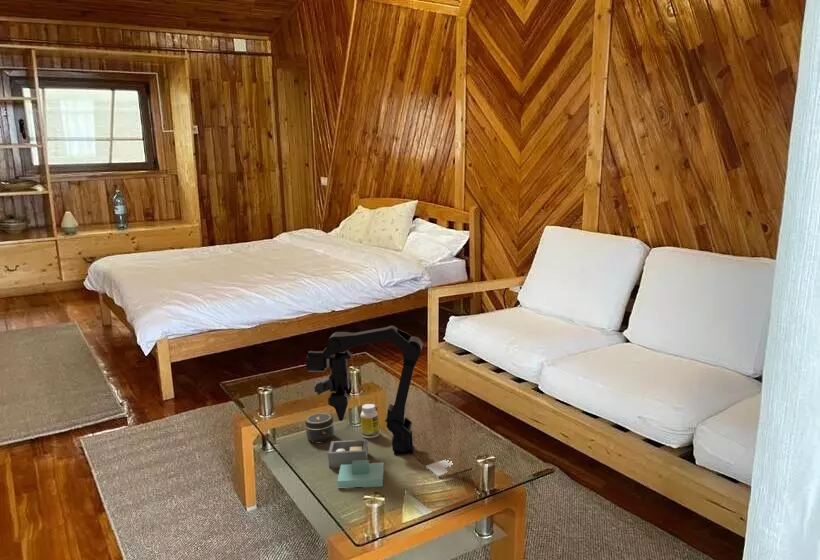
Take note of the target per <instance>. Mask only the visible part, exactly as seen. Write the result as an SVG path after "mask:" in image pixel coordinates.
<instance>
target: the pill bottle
mask: <svg viewBox="0 0 820 560" xmlns="http://www.w3.org/2000/svg"><path fill="white" fill-rule="evenodd" d="M361 409H362V411H361V413H360V427H361V436H362V437H363V438H364V439H374V438H377V437H378V436H379V435H380V427H379V414H378V411H377V410H376V405H375V404H374V403H365V404H363V405H362V406H361Z"/></svg>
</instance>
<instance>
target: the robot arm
mask: <svg viewBox="0 0 820 560" xmlns="http://www.w3.org/2000/svg"><path fill="white" fill-rule="evenodd" d="M385 341H390V342H391V343H392V344H393V345H395V346H396V348H397V349H399V350H401V351H402V353H403V354H402V370H401V374H400V377H399V379H400V380H399V382H398V386H397V392H396V396H395V400H394V402H393V404H391V403H389V404H388V409H387V411H386V412H387V414H386V417H385V420H384V423H386V428H387V429H388V431H390V433H391V434H392V436H391V446H392V447H391V448H392V451H393V455H394V456H399V455H400V456H402V455H403V456H404V455H414V453H415V451H414V450H415V449H414V442H413V441H414V440H413V431H412V425H413V422H412V420H410V419H409V418H408V417H406V414H407V405H406V404H407V399H408V396H409V395H408V394H409V392H410V387H411V382H412V378H413V373H414V370H415V369H414V368H415V367H416V364H417V362H418V360H419V357H420V356H421V352H422V349H423V341H422V340H421V338H419V337H418V336H414V335H413V336H412V335H411V334H409V333H408V332H406V331H404V330H401V329H399V328H398V327H396V326H395V325H389V326H385V327H380V328H374V329H369V330H368V329H367V330H364V331H359V332H358V331H357V332H349V331H336V332H334V333H332V334H331V335H330V337H329V338H328V339H327V340H326V347H325V348H324V349H323V350H320V351H319V350H317V351H314V350H309V351H308V352H307V354H306V355H307V356H306V363H305V367H306V371H307V372H308V373H310V372H313V373H314V372H315V373H316V372H317V373H318V372H326V371H327V369H329V370H330V373H329V377H325V378H322V379H320V380H318V381H316V382H315V383H314V385H313V388H314V392H315V393H316V394H317V395H318V396H319V395H322V394H323V393H325V392H328V391H329V392H330V394H329V396H328V398H327V402H328V403H327V404H328V406H330V407H333V408H334V409H335V411H336V415H337V418H338V420H339V421H340V422H342V421H344V418H345V414H346V412H347V408H348V405H349V399H350V395H351V392H352V388H353V379H351V378H350V377H349V373H350V372H349V369H348V359H349V360H351V358H352V357H353V353H352V352H350V351H349V350H350V349H352V348H353V347H357V346H362V345H366V344H367V345H368V344H373V343H378V342H379V343H380V342H385Z"/></svg>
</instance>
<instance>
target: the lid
mask: <svg viewBox="0 0 820 560" xmlns="http://www.w3.org/2000/svg"><path fill="white" fill-rule="evenodd" d="M384 468H385V467H384V462H371V463H370V460H369V459H367V460H355V461H352V464H347V465H341V466H340V467H339V471H338V472H339V473H338V477H337V488H338V487H363V488H378V487H383V483H384V471H385V469H384Z"/></svg>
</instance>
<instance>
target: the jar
mask: <svg viewBox="0 0 820 560" xmlns="http://www.w3.org/2000/svg"><path fill="white" fill-rule="evenodd" d="M304 422H305V423H304V424H305V425H304V426H305V434H306V438H307V440H308V441H309V440H310V441H313V442H323V443H327V442H329V441H330V440H332V439H333V437H334V434H335V433H334V432H335V428H334V417H333V415H331V414H330V413H325V412H319V413H313V414H311V415H309V416H307V417H305V420H304ZM310 441H309V442H310Z"/></svg>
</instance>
